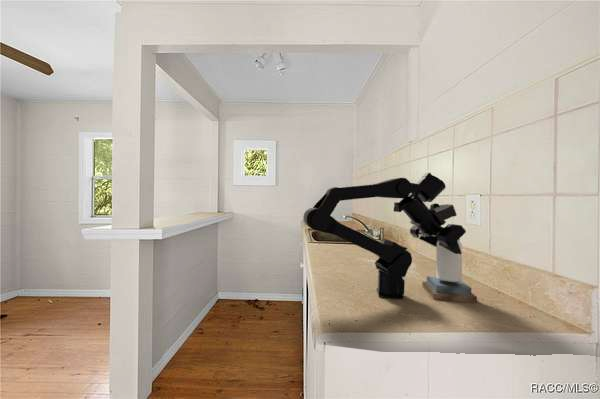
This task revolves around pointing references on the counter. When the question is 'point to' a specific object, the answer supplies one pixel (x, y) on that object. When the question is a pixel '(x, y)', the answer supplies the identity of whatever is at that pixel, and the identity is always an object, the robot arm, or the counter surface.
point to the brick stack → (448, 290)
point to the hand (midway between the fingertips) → (452, 252)
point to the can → (448, 264)
